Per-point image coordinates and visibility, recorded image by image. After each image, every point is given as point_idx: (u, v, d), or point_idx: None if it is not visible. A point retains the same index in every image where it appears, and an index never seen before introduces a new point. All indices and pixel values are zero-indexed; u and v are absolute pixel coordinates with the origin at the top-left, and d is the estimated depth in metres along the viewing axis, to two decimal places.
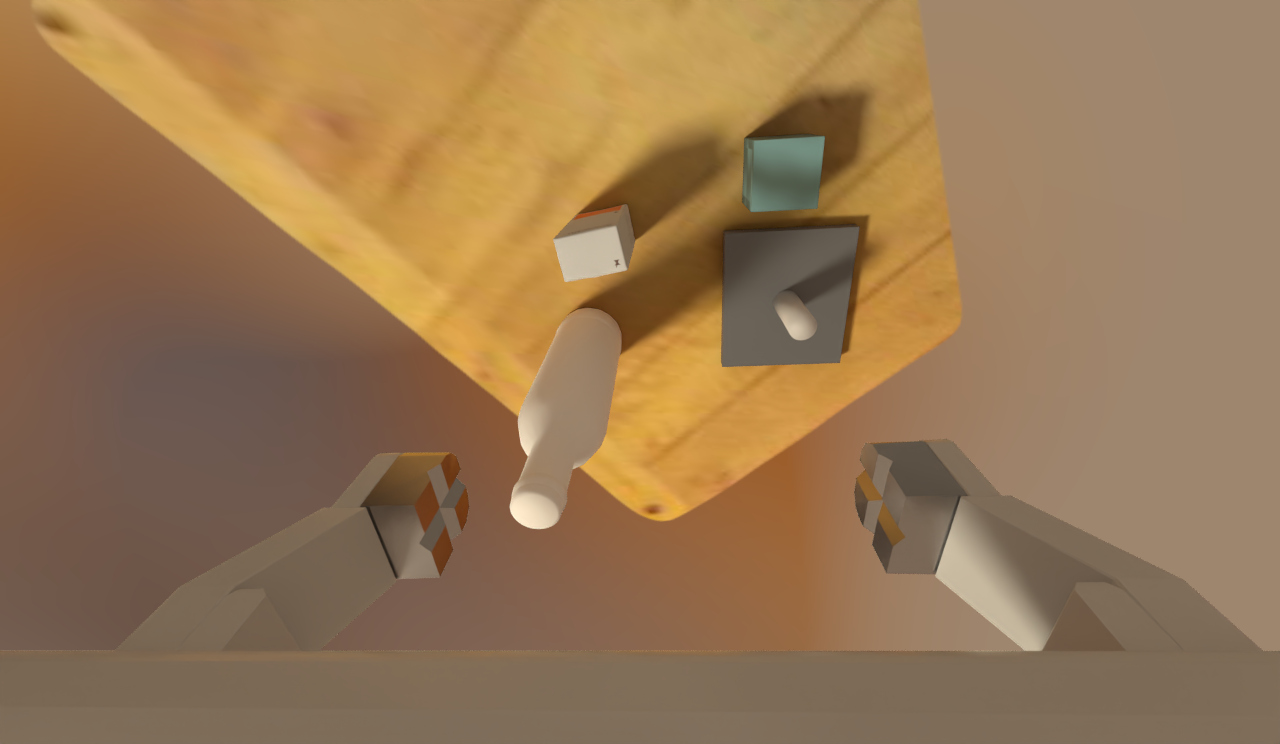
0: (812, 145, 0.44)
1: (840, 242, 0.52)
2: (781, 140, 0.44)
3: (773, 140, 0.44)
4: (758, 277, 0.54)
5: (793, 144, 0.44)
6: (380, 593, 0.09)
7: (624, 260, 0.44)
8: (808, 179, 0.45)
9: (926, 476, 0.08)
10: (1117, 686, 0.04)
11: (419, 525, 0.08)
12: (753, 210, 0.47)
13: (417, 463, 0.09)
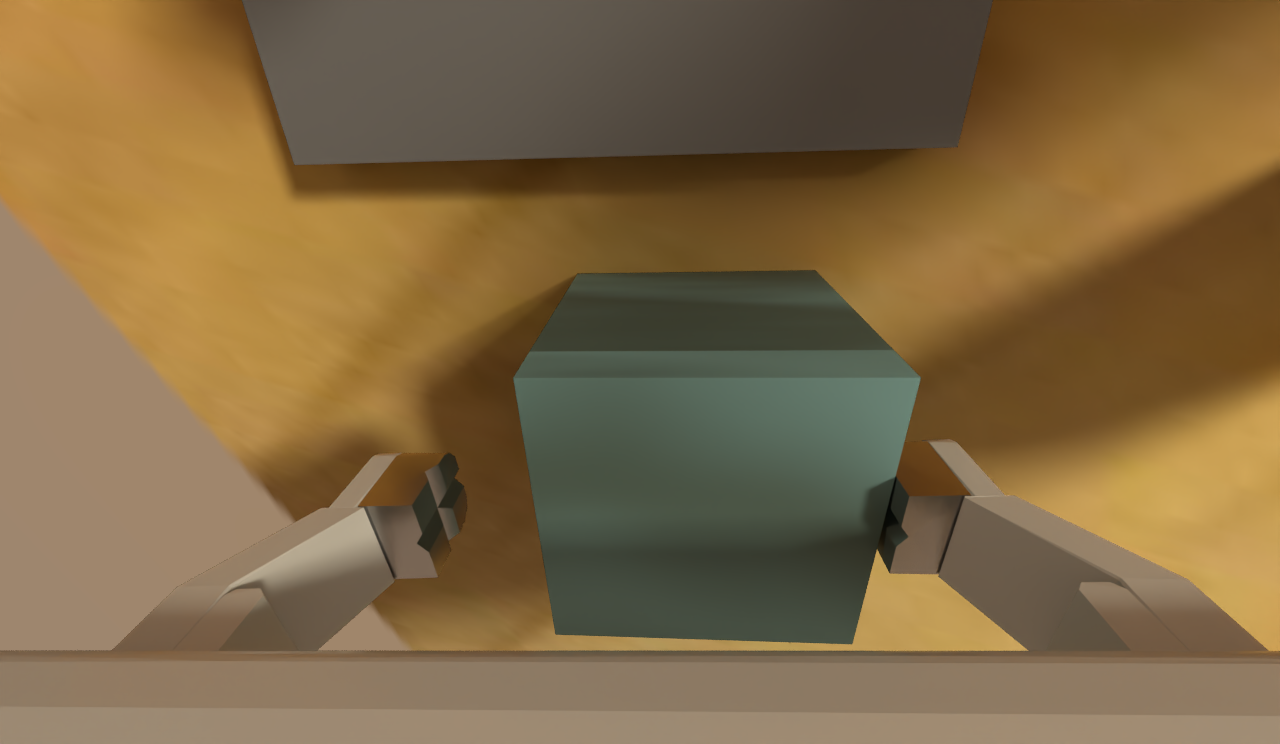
0: (600, 614, 0.10)
1: (351, 80, 0.10)
2: (735, 636, 0.10)
3: (769, 638, 0.10)
4: None
5: (682, 622, 0.10)
6: (378, 593, 0.09)
7: None
8: (594, 508, 0.09)
9: (929, 476, 0.08)
10: (1117, 686, 0.04)
11: (417, 525, 0.08)
12: (905, 385, 0.07)
13: (415, 463, 0.09)
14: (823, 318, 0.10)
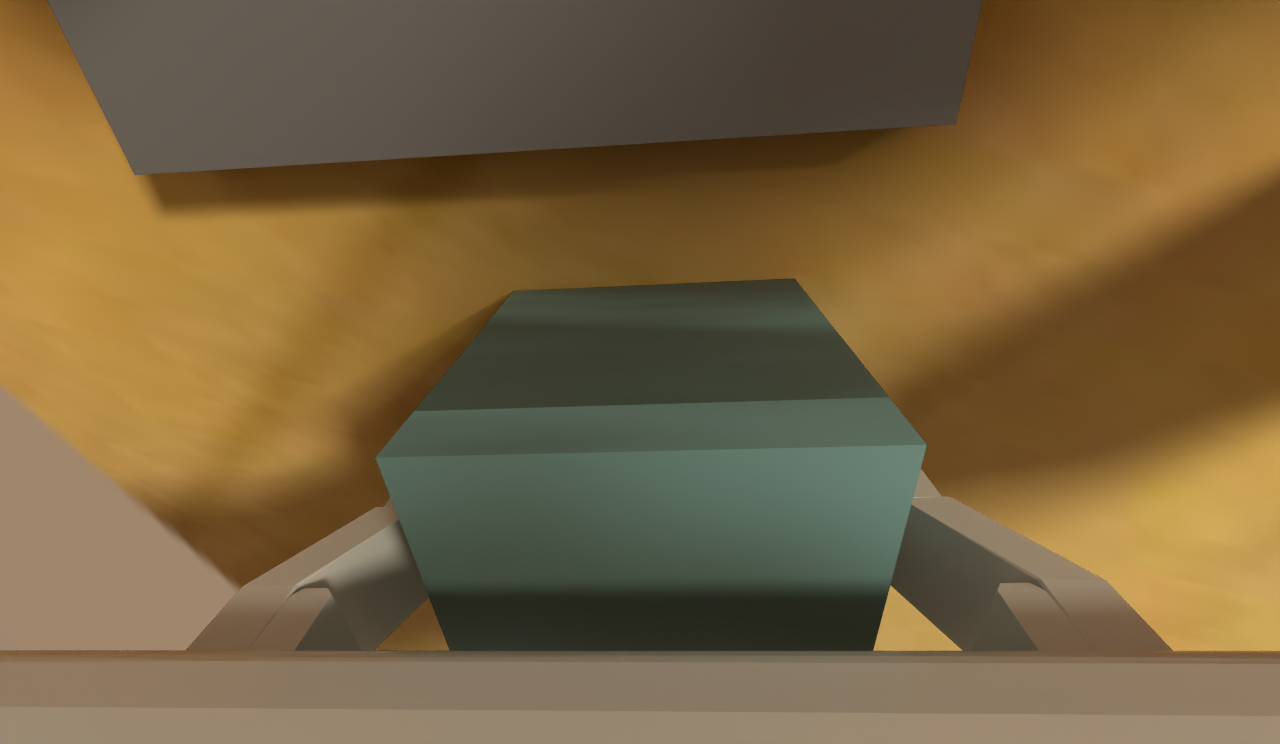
0: None
1: (185, 65, 0.08)
2: None
3: None
4: None
5: None
6: None
7: None
8: (508, 607, 0.07)
9: None
10: (1117, 686, 0.04)
11: None
12: (905, 455, 0.05)
13: None
14: (799, 348, 0.08)
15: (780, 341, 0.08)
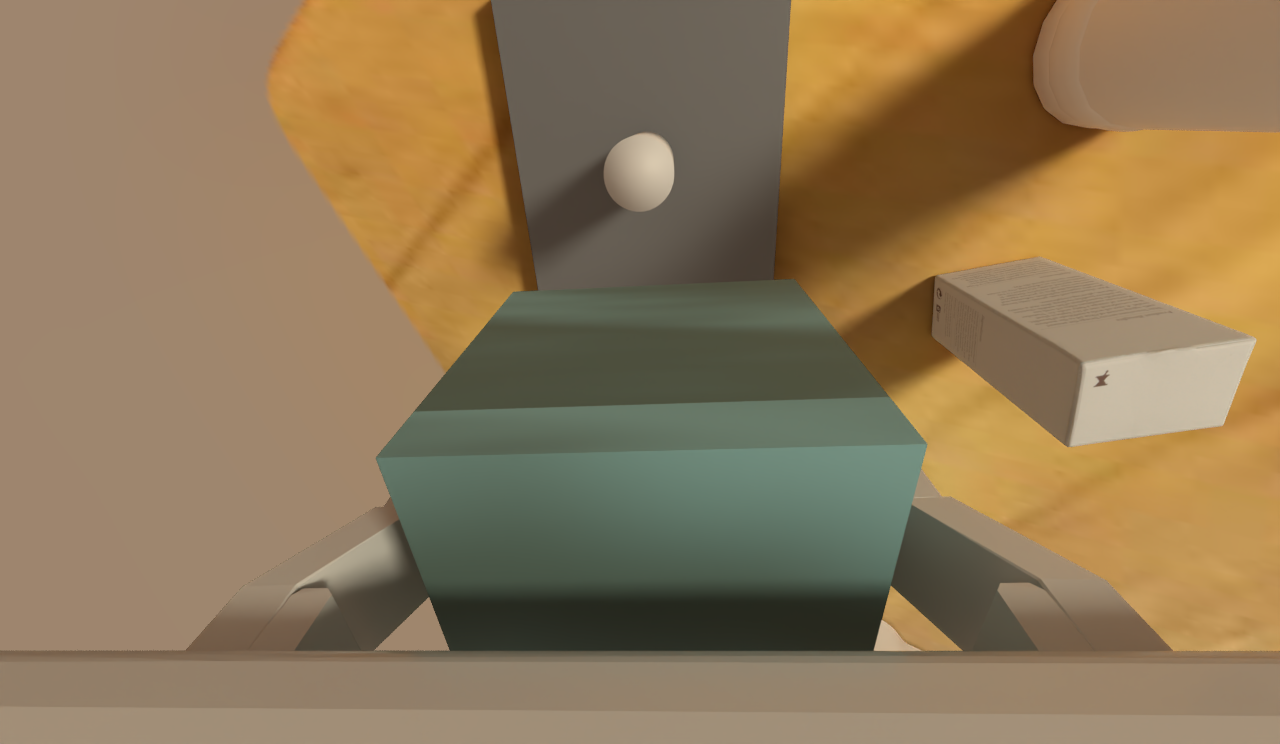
0: None
1: (566, 283, 0.29)
2: None
3: None
4: (708, 216, 0.27)
5: None
6: None
7: (1081, 384, 0.19)
8: (509, 608, 0.07)
9: None
10: (1117, 686, 0.04)
11: None
12: (905, 454, 0.05)
13: None
14: (799, 348, 0.08)
15: (780, 341, 0.08)
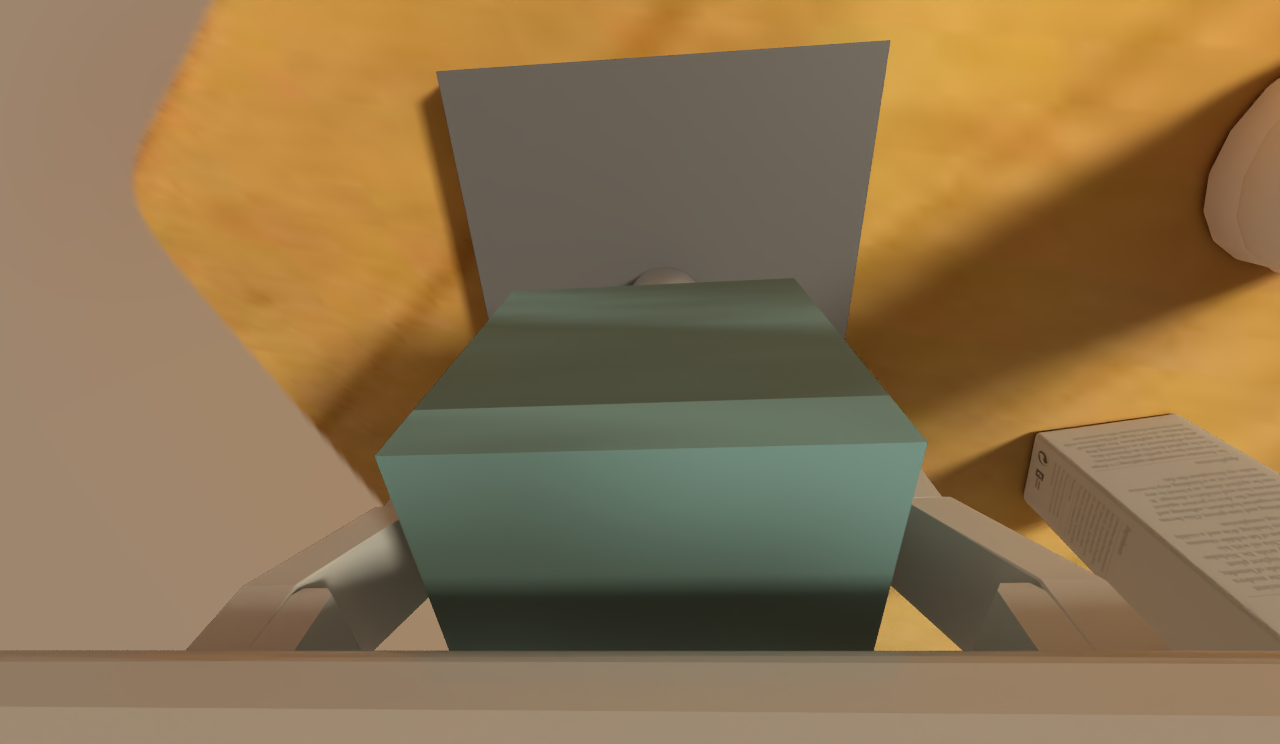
0: None
1: None
2: None
3: None
4: None
5: None
6: None
7: None
8: (508, 607, 0.07)
9: None
10: (1117, 686, 0.04)
11: None
12: (906, 452, 0.05)
13: None
14: (798, 347, 0.08)
15: (780, 340, 0.08)
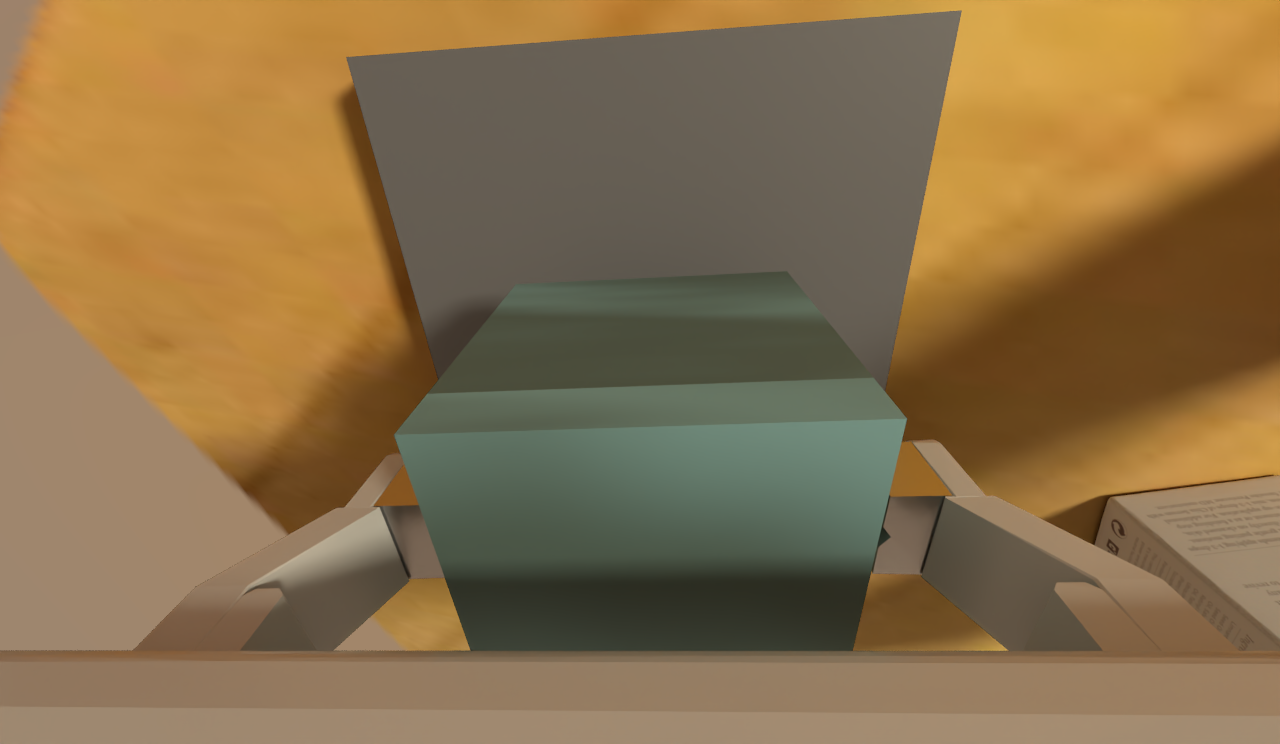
0: None
1: None
2: None
3: None
4: None
5: None
6: (393, 593, 0.09)
7: None
8: (517, 579, 0.07)
9: (912, 477, 0.08)
10: (1117, 686, 0.04)
11: None
12: (887, 429, 0.06)
13: None
14: (790, 334, 0.08)
15: (772, 328, 0.08)
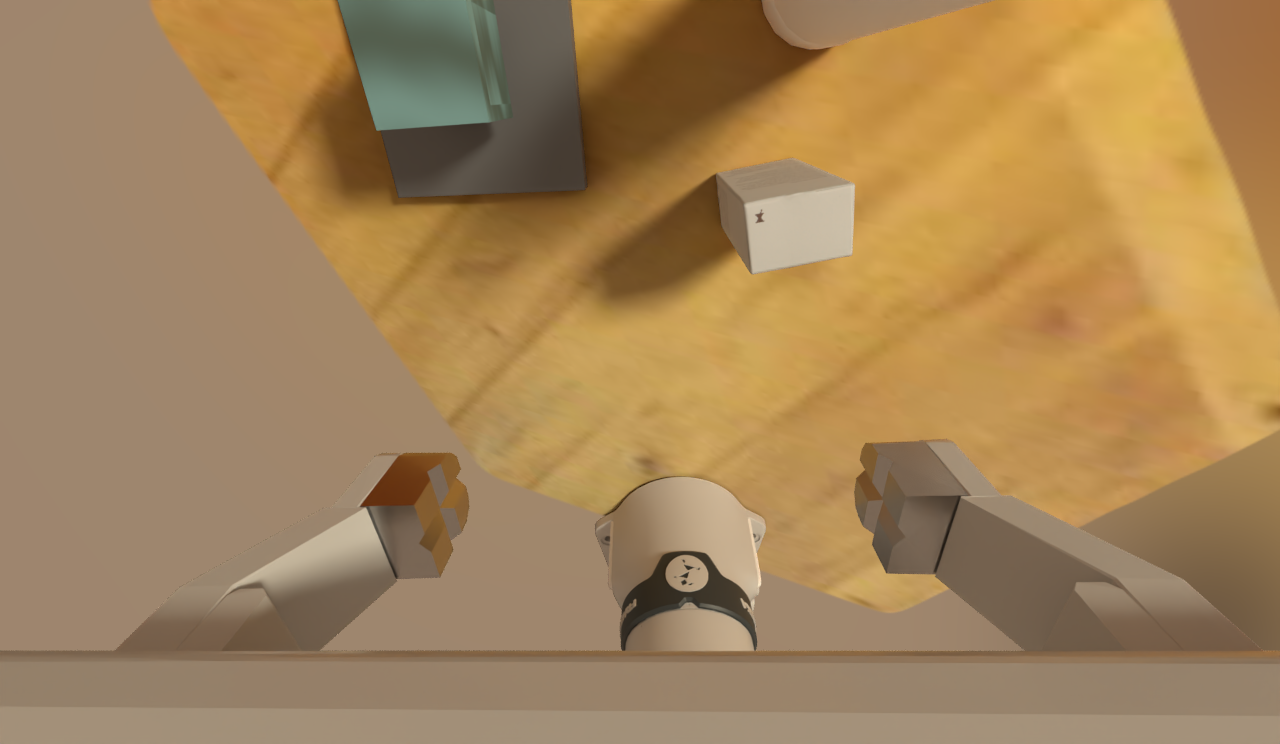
0: (390, 115, 0.26)
1: (416, 174, 0.36)
2: (444, 123, 0.27)
3: (457, 122, 0.27)
4: (524, 116, 0.34)
5: (422, 116, 0.26)
6: (380, 593, 0.09)
7: (746, 220, 0.27)
8: (374, 51, 0.25)
9: (926, 477, 0.08)
10: (1117, 686, 0.04)
11: (419, 525, 0.08)
12: None
13: (417, 463, 0.09)
14: None
15: None
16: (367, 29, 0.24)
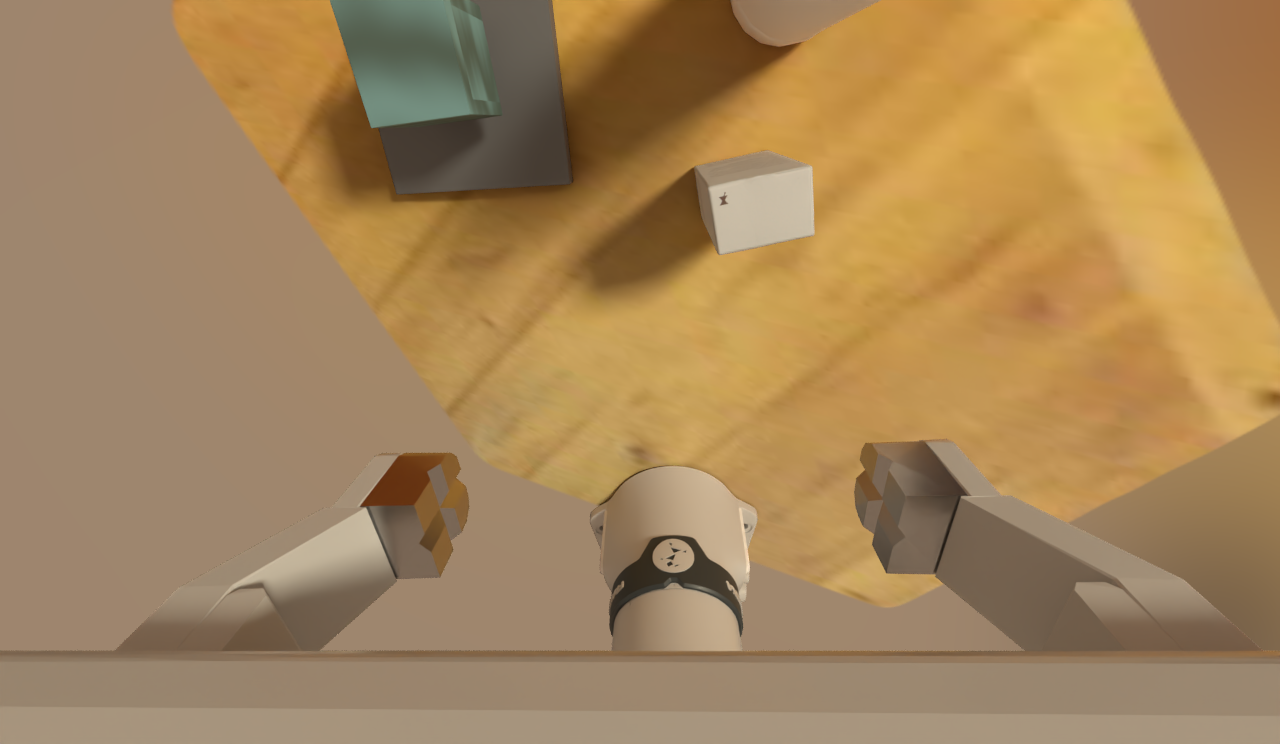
0: (383, 112, 0.29)
1: (412, 172, 0.38)
2: (430, 117, 0.29)
3: (442, 116, 0.29)
4: (511, 115, 0.36)
5: (411, 112, 0.29)
6: (380, 593, 0.09)
7: (711, 203, 0.29)
8: (366, 55, 0.27)
9: (926, 477, 0.08)
10: (1117, 686, 0.04)
11: (419, 525, 0.08)
12: None
13: (417, 463, 0.09)
14: None
15: None
16: (359, 35, 0.27)
